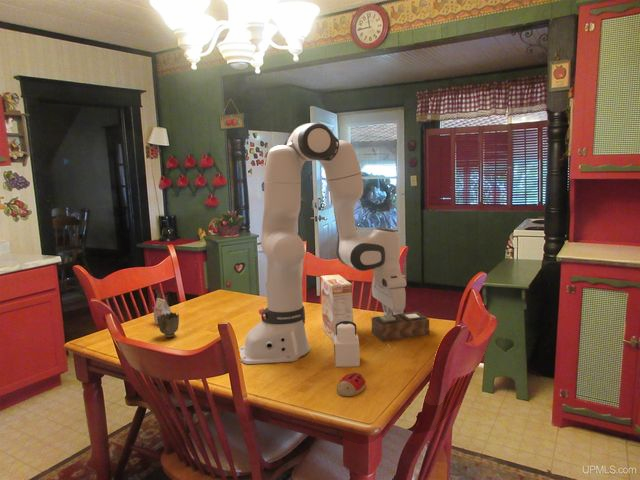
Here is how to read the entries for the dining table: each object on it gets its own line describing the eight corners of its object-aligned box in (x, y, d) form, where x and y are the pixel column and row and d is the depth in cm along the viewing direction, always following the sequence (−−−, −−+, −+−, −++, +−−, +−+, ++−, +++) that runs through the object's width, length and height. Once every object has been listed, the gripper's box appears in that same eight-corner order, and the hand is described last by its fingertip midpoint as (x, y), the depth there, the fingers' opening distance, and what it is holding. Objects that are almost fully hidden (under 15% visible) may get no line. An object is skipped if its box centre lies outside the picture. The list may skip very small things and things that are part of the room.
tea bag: (163, 321, 187) (161, 296, 186) (172, 325, 183) (170, 299, 181) (154, 323, 185) (152, 298, 183) (163, 327, 180) (160, 301, 179)
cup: (154, 337, 169) (152, 316, 168) (173, 332, 174) (171, 310, 173) (165, 342, 164) (163, 319, 163) (184, 336, 169) (182, 314, 168)
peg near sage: (384, 336, 159) (384, 319, 158) (379, 332, 163) (379, 316, 162) (395, 334, 160) (395, 318, 159) (390, 330, 164) (390, 314, 163)
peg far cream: (409, 334, 161) (409, 318, 161) (404, 330, 165) (404, 314, 164) (420, 333, 162) (420, 316, 162) (415, 329, 166) (415, 313, 165)
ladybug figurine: (331, 395, 122) (331, 382, 121) (348, 379, 130) (347, 367, 130) (355, 400, 119) (355, 387, 118) (371, 384, 127) (370, 371, 127)
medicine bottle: (334, 357, 145) (333, 319, 143) (358, 357, 145) (357, 318, 143) (334, 367, 138) (333, 327, 136) (359, 366, 138) (358, 326, 136)
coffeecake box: (322, 329, 171) (319, 275, 168) (341, 326, 173) (339, 273, 170) (333, 343, 157) (331, 285, 154) (354, 341, 158) (352, 283, 155)
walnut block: (381, 341, 156) (381, 324, 155) (371, 333, 165) (371, 316, 164) (429, 335, 160) (429, 318, 160) (417, 327, 169) (417, 310, 168)
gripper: (367, 271, 168) (368, 309, 170) (390, 284, 148) (391, 327, 150) (383, 269, 169) (385, 307, 171) (408, 282, 150) (409, 324, 152)
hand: (388, 317), depth 161 cm, fingers closed, pressing on peg near sage
